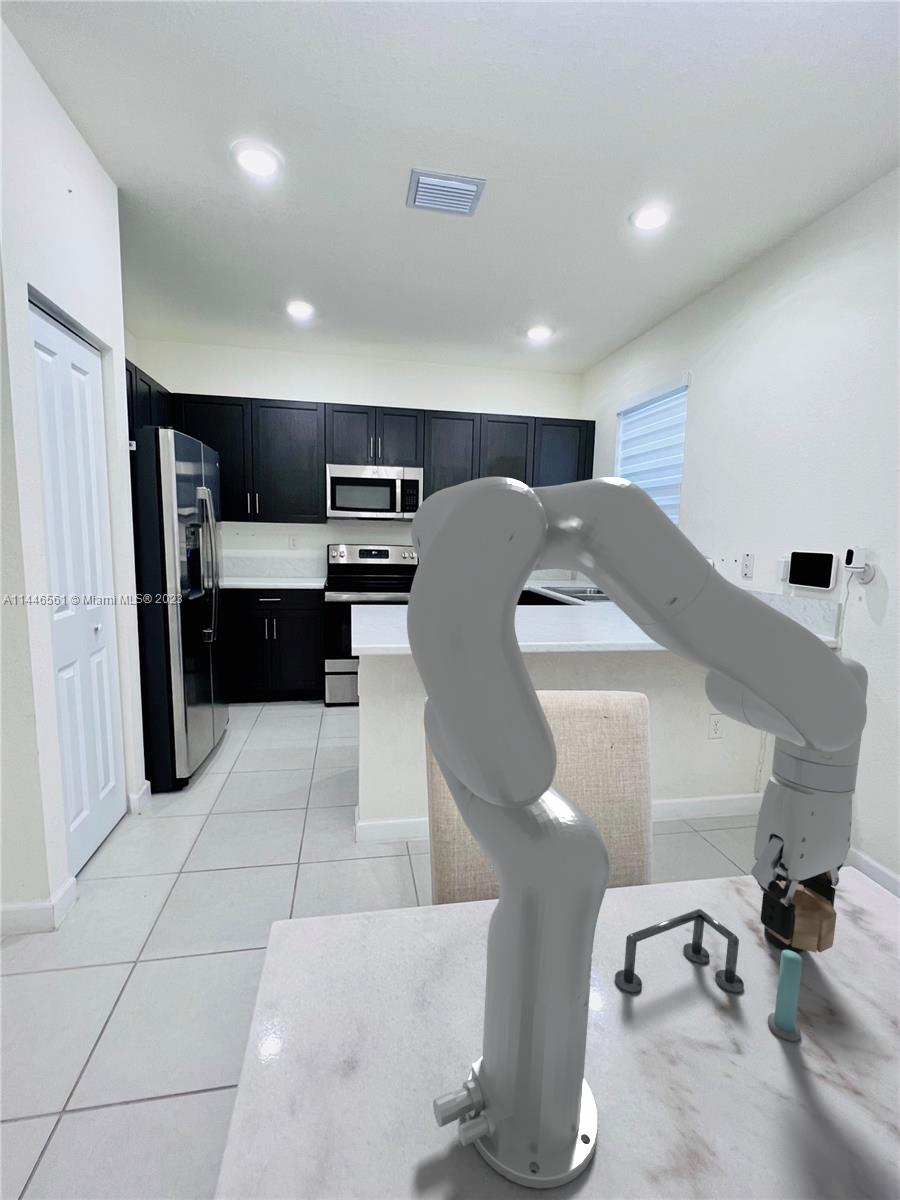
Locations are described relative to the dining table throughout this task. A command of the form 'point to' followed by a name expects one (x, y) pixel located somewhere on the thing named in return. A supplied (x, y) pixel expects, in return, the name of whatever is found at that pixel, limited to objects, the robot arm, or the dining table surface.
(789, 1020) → the peg
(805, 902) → the ring
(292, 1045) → the dining table surface
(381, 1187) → the dining table surface
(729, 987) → the corner grab bar
